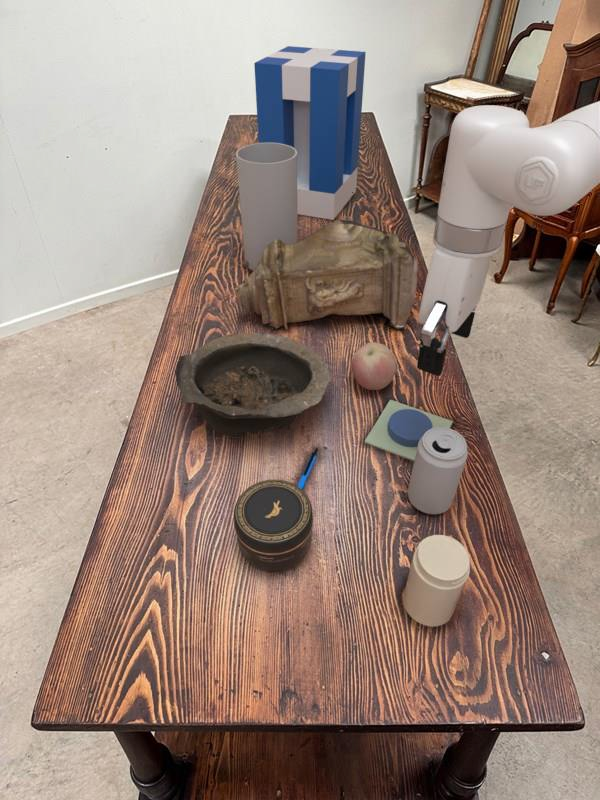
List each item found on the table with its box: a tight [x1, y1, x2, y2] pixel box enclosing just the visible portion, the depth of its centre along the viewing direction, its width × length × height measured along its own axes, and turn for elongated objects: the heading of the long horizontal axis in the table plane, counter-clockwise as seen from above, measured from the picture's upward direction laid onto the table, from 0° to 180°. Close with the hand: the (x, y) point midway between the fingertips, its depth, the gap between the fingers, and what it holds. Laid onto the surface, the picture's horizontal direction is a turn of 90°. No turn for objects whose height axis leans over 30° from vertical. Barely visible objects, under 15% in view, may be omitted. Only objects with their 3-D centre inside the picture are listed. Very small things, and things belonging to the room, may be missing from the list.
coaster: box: [363, 399, 454, 462], centre depth 87 cm, size 11×11×1 cm
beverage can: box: [407, 427, 469, 515], centre depth 73 cm, size 6×6×12 cm
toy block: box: [253, 45, 367, 221], centre depth 142 cm, size 21×21×35 cm
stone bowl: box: [174, 332, 331, 439], centre depth 89 cm, size 25×25×9 cm
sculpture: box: [235, 219, 419, 331], centre depth 107 cm, size 18×20×35 cm
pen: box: [296, 447, 319, 490], centre depth 77 cm, size 1×19×1 cm, turn 161°
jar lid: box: [387, 409, 433, 447], centre depth 86 cm, size 7×7×2 cm
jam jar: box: [402, 534, 471, 628], centre depth 62 cm, size 6×6×10 cm
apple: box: [351, 341, 397, 391], centre depth 93 cm, size 8×8×8 cm
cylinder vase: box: [235, 142, 299, 272], centre depth 119 cm, size 12×12×25 cm
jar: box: [233, 479, 314, 573], centre depth 69 cm, size 10×10×8 cm
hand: (443, 352), depth 72 cm, fingers open, 9 cm apart
